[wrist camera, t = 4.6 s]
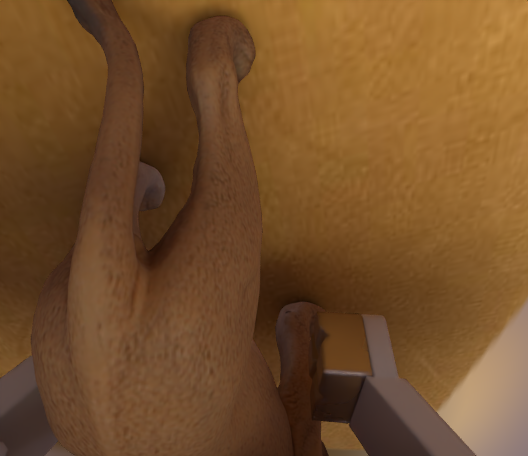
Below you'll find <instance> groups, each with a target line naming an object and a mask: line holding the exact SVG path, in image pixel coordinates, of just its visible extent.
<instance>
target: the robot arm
mask: <svg viewBox="0 0 528 456" xmlns="http://www.w3.org/2000/svg"><path fill="white" fill-rule="evenodd" d="M308 364H309V376H310V377H311V378H312V380H313V381H312V385H311V390H310V403H311V419H312V420H316V421H328V422H339V423H350V424H349V426H350V427H351V429H352V431H353V432H354V434H355V435H356V437H357V438H358V440H359V441H360V443H361V444H362V446H363V447H364V449H365V451H366V452H367V454H368V455H369V456H476V455H475V454H474V453H473V452H472V450H470V448H469V447H468V446H467V445H466V444H465V443H464V442H463V441H462V440H461V439H460V437H459V436H458V435H457V434H456V433H455V432H454V431H453V430H452V429H451V428H450V427H449V425H448V424H447V423H446V422H445V421H444V420H443V419H442V418H441V417H440V416H439V415H438V413H437V412H436V411H435V410H434V409H433V408H432V407H431V406H430V405H429V404H428V403H427V402H426V400H425V399H424V398H423V397H422V396H421V395H420V394H419V393H418V392H417V391H416V390H415V389H414V387H413V386H412V385H411V384H410V383H409V382H408V381H407V380H406V379H402V378H399V377H398V372H397V368H396V363H395V359H394V354H393V350H392V345H391V341H390V336H389V332H388V327H387V323H386V319H385V318H384V316H383V315H369V314H358V313H338V312H319V311H317V312H316V314H315V318H314V333H313V334H311V338H310V344H309V355H308ZM57 442H58V440H57V439H56V437H55V436H54V434H53V432H52V430H51V427H50V425H49V423H48V420H47V417H46V413H45V409H44V405H43V402H42V399H41V396H40V393H39V390H38V386H37V383H36V379H35V371H34V364H33V357H32V356H29V357H28V358H27V359H25V360H24V361H23V362H21V363H20V364H19V365H17V366H16V367H15V368H13V369H12V370H11V371H9V372H8V373H7V374H5V375H4V376H3V377H1V378H0V456H44V455H45V454H46V453H47V452H48V451H49V450H50V449H51V448H52V447H53V446H54V445H55V444H56V443H57Z"/></svg>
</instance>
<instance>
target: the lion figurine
mask: <svg viewBox="0 0 528 456" xmlns="http://www.w3.org/2000/svg"><path fill="white" fill-rule="evenodd" d="M67 1H68V3H69V4H70V6H71V7H72V9H73V12H74V14H75V17H76V18H77V20H78V21H79V23H80V24H81V25H82V27H83V28H84V29H85V30H87V31H88V32H89V33H90V34H92V35H93V36H94V37H95V39H96V40H97V41H98V42H99V44H100V45H101V47H102V48H103V50H104V53H105V55H106V59H107V64H108V79H107V88H106V96H105V104H104V111H103V118H102V122H101V125H100V129H99V134H98V139H97V144H96V149H95V155H94V158H93V161H92V164H91V167H90V170H89V175H88V180H87V185H86V190H85V195H84V200H83V204H82V208H81V214H80V222H79V229H78V235H77V239H76V243H75V244H74V246H73V247H72V249H71V250H70V252H69V253H68V254H67V256H66V257H65V259H64V260H63V261H62V262H61V263H60V264H59V265H58V266H57V267H56V268H55V269H54V270H53V271H52V272H51V274H50V275H49V276H48V278H47V280H46V281H45V283H44V285H43V289H42V291H41V294H40V297H39V300H38V304H37V307H36V311H35V315H34V319H33V326H32V334H31V347H32V357H33V364H34V371H35V379H36V383H37V386H38V390H39V393H40V396H41V399H42V402H43V405H44V409H45V413H46V417H47V420H48V423H49V425H50V427H51V430H52V432H53V434H54V436H55V437H56V439H57V440H58V441H59V443H60V444H61V445H62V446H63V447H64V448H65V449H67V450H68V451H69V452H70V453H72V454H73V455H75V456H328V453H327V450H326V448H325V446H324V443H323V442H322V441H321V421H316V420H312V419H311V403H310V390H311V385H312V381H313V380H312V378H311V377H310V376H309V364H308V355H309V344H310V338H311V334H313V333H314V318H315V314H316V312H317V311H319V312H326V311H325V310H324V309H323V308H321V307H319V306H318V305H315V304H312V303H309V302H304V301H302V302H297V303H292V304H288V305H286V306H284V307H283V308H282V309H281V311H280V313H279V317H278V319H277V322H276V327H275V331H276V340H277V345H278V349H279V354H280V362H281V373H280V384H279V387H278V388H277V387H276V384H275V381H274V378H273V376H272V374H271V371H270V369H269V367H268V365H267V363H266V361H265V359H264V357H263V356H262V354H261V352H260V350H259V348H258V347H257V345H256V343H255V342H254V340H253V334H254V329H255V321H256V314H257V307H258V300H259V293H260V254H261V244H262V233H263V230H262V213H261V206H260V198H259V190H258V183H257V176H256V171H255V166H254V162H253V158H252V154H251V150H250V146H249V142H248V138H247V135H246V131H245V127H244V124H243V120H242V115H241V110H240V105H239V100H238V84H239V83H240V81H241V80H242V79H243V78H244V77H245V76H246V75H248V73H249V71H250V69H251V66H252V63H253V61H254V59H255V47H254V44H253V40H252V38H251V36H250V34H249V32H248V30H247V29H246V28H245V26H244V25H243V24H242V23H241V22H240V21H239V20H237V19H234V18H231V17H228V16H214V17H212V18H209V19H206V20H203V21H200V22H198V23H196V24H195V25H194V26H193V27H192V28H191V31H190V34H189V40H188V56H187V63H186V78H187V90H188V94H189V97H190V101H191V105H192V108H193V110H194V112H195V115H196V118H197V125H198V132H199V144H198V152H197V157H196V160H195V164H194V168H193V182H192V188H191V193H190V196H189V198H188V200H187V202H186V203H185V205H184V207H183V208H182V209H181V211H180V212H179V213H178V215H177V217H176V219H175V220H174V222H173V223H172V225H171V226H170V228H169V229H168V230H167V232H166V233H165V235H164V236H163V237H162V239H161V240H160V242H159V243H158V244H156V245H155V246H154V247H153V248H152V249H151V250H149V251H148V250H147V249H146V248H145V246H144V244H143V242H142V240H141V233H140V228H139V223H138V213H139V211H146V210H150V209H155V208H158V207H159V206H160V205H161V204H162V201H163V199H164V195H165V184H164V181H163V178H162V176H161V174H160V173H159V171H158V170H157V169H156V168H154V167H152V166H150V165H147V164H145V163H143V162H140V154H141V146H142V131H143V94H144V86H143V74H142V68H141V63H140V59H139V55H138V51H137V48H136V44H135V43H134V41H133V39H132V37H131V35H130V33H129V31H128V30H127V28H126V27H125V25H124V24H123V22H122V21H121V19H120V17H119V16H118V13H117V11H116V9H115V7H114V5H113V2H112V0H67Z"/></svg>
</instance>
